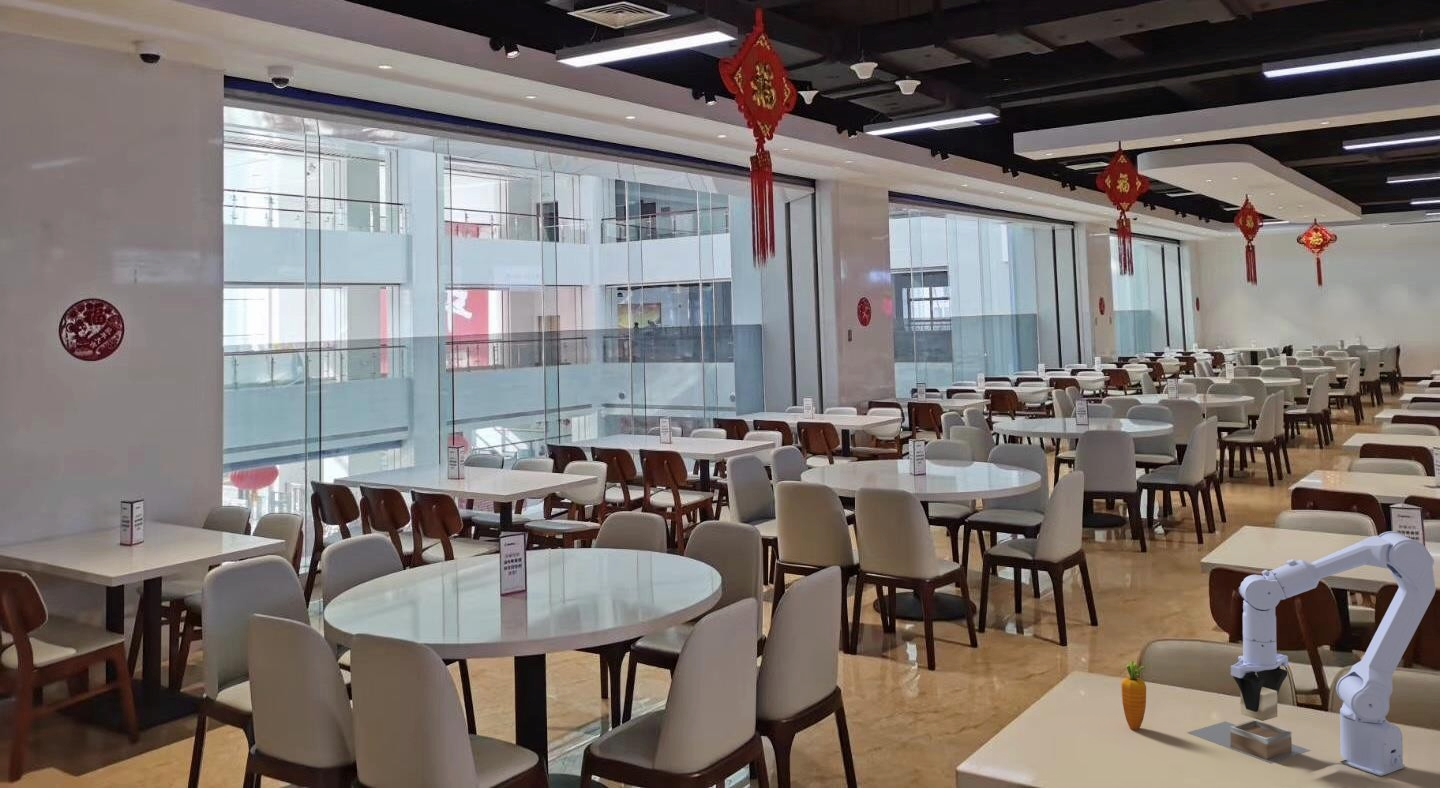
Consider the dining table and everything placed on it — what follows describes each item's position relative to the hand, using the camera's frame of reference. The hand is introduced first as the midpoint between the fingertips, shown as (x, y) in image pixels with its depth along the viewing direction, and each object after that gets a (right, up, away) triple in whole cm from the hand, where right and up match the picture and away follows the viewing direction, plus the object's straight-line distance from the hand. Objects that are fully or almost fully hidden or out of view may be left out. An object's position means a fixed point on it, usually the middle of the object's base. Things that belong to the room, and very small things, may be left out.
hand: (1260, 707), depth 192 cm
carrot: (-19, -10, +13) cm, 25 cm away
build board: (0, -9, +5) cm, 10 cm away
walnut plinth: (0, -9, 0) cm, 9 cm away
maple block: (0, -2, 0) cm, 2 cm away
